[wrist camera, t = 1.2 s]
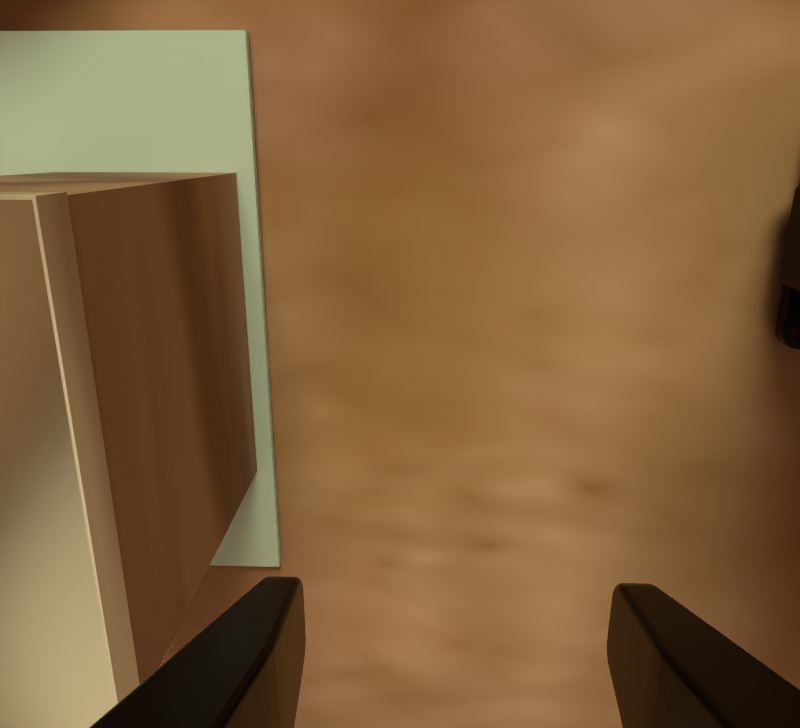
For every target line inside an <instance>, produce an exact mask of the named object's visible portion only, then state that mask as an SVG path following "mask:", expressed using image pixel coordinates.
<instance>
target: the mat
mask: <svg viewBox="0 0 800 728" xmlns="http://www.w3.org/2000/svg"><path fill="white" fill-rule="evenodd" d="M49 172H192V173H236V178H237V192H238V206H239V220H240V234H241V248H242V262H243V276H244V290H245V304H246V318H247V332H248V346H249V360H250V374H251V388H252V402H253V417H254V431H255V445H256V459H257V473H256V475H255V477H254V479H253V481H252V483H251V485H250V486H249V488H248V490H247V492H246V494H245V496H244V498H243V500H242V502H241V504H240V506H239V508H238V510H237V512H236V514H235V516H234V518H233V520H232V522H231V524H230V526H229V528H228V530H227V532H226V534H225V536H224V538H223V540H222V542H221V544H220V546H219V548H218V550H217V552H216V554H215V556H214V558H213V560H212V562H211V564H210V565H213V566H265V567H279V566H280V563H281V552H280V536H279V520H278V504H277V488H276V472H275V455H274V439H273V423H272V407H271V391H270V375H269V359H268V342H267V326H266V310H265V294H264V278H263V262H262V246H261V230H260V213H259V197H258V181H257V165H256V149H255V133H254V117H253V100H252V84H251V68H250V52H249V36H248V32H247V31H246V30H169V31H0V176H3V175H18V174H33V173H49Z"/></svg>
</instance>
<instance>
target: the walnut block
mask: <svg viewBox="0 0 800 728" xmlns="http://www.w3.org/2000/svg"><path fill="white" fill-rule="evenodd" d="M256 473H257V459H256V445H255V431H254V417H253V402H252V388H251V374H250V360H249V346H248V332H247V318H246V304H245V290H244V276H243V262H242V248H241V234H240V220H239V206H238V192H237V178H236V173H192V172H49V173H33V174H18V175H3V176H0V728H89V727H91V726H92V725H93V724H94V723H95V722H96V721H98V720H99V719H100V718H101V717H102V716H103V715H105V714H106V713H107V712H108V711H109V710H110V709H112V708H113V707H114V706H115V705H116V704H117V703H119V702H120V701H121V700H122V699H123V698H125V697H126V696H127V695H128V694H129V693H130V692H132V691H133V690H134V689H135V688H136V687H137V686H139V685H140V684H141V683H142V682H143V681H144V680H146V679H147V678H148V677H149V676H150V675H151V674H153V673H154V672H155V671H156V670H157V669H158V667H159V665H160V663H161V661H162V659H163V657H164V655H165V653H166V651H167V649H168V647H169V645H170V643H171V641H172V639H173V637H174V635H175V633H176V631H177V629H178V627H179V625H180V623H181V621H182V619H183V617H184V615H185V613H186V611H187V609H188V607H189V605H190V603H191V601H192V599H193V597H194V595H195V593H196V591H197V589H198V587H199V585H200V584H201V582H202V580H203V578H204V576H205V574H206V572H207V570H208V568H209V566H210V564H211V562H212V560H213V558H214V556H215V554H216V552H217V550H218V548H219V546H220V544H221V542H222V540H223V538H224V536H225V534H226V532H227V530H228V528H229V526H230V524H231V522H232V520H233V518H234V516H235V514H236V512H237V510H238V508H239V506H240V504H241V502H242V500H243V498H244V496H245V494H246V492H247V490H248V488H249V486H250V485H251V483H252V481H253V479H254V477H255V475H256Z"/></svg>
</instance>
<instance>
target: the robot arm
mask: <svg viewBox="0 0 800 728" xmlns="http://www.w3.org/2000/svg"><path fill="white" fill-rule="evenodd" d="M780 278H781V280H782V281H783V282H784V285H783V290H782V296H781V301H780V307H779V312H778V318H777V323H776V336H777V338H778V340H779V341H781V342H782V343H783V344H785V345H787V346H789V347H791V348H795V349H800V333H799V334H798V335H797V336H794V337H792V330H793V328H794V327H795V326H796V325H797V324H800V185H799V186H798V187H797V188H796V189H795V194H794V199H793V205H792V210H791V216H790V221H789V227H788V233H787V238H786V244H785V249H784V255H783V260H782V266H781V272H780ZM305 642H306V636H305V615H304V596H303V585H302V582H301V580H300V579H299V578H298V577H266V578H264V579H263V580H262V581H260V582H259V583H258V584H257V585H256V586H255V587H253V588H252V589H251V590H250V591H249V592H248V593H246V594H245V595H244V596H243V597H242V598H240V599H239V600H238V601H237V602H236V603H235V604H233V605H232V606H231V607H230V608H229V609H228V610H226V611H225V612H224V613H223V614H222V615H221V616H219V617H218V618H217V619H216V620H215V621H214V622H212V623H211V624H210V625H209V626H208V627H207V628H205V629H204V630H203V631H202V632H201V633H199V634H198V635H197V636H196V637H195V638H194V639H192V640H191V641H190V642H189V643H188V644H187V645H185V646H184V647H183V648H182V649H181V650H180V651H178V652H177V653H176V654H175V655H174V656H173V657H171V658H170V659H169V660H168V661H167V662H166V663H164V664H163V665H162V666H161V667H160V668H158V669H157V670H156V671H155V672H154V673H153V674H151V675H150V676H149V677H148V678H147V679H146V680H144V681H143V682H142V683H141V684H140V685H139V686H137V687H136V688H135V689H134V690H133V691H132V692H130V693H129V694H128V695H127V696H126V697H125V698H123V699H122V700H121V701H120V702H119V703H117V704H116V705H115V706H114V707H113V708H112V709H110V710H109V711H108V712H107V713H106V714H105V715H103V716H102V717H101V718H100V719H99V720H98V721H96V722H95V723H94V724H93V725H92V726H91V727H89V728H294V724H295V718H296V711H297V704H298V697H299V690H300V684H301V677H302V670H303V663H304V656H305ZM607 657H608V664H609V669H610V673H611V677H612V682H613V686H614V691H615V695H616V699H617V704H618V708H619V713H620V717H621V721H622V726H623V728H800V690H799V689H797V688H796V687H795V686H793V685H792V684H791V683H789V682H788V681H786V680H785V679H784V678H782V677H781V676H779V675H778V674H777V673H775V672H774V671H773V670H771V669H770V668H768V667H767V666H766V665H764V664H763V663H761V662H760V661H759V660H757V659H756V658H755V657H753V656H752V655H750V654H749V653H748V652H746V651H745V650H743V649H742V648H741V647H739V646H738V645H737V644H735V643H734V642H732V641H731V640H730V639H728V638H727V637H725V636H724V635H723V634H721V633H720V632H719V631H717V630H716V629H714V628H713V627H712V626H710V625H709V624H707V623H706V622H705V621H703V620H702V619H700V618H699V617H698V616H696V615H695V614H694V613H692V612H691V611H689V610H688V609H687V608H685V607H684V606H682V605H681V604H680V603H678V602H677V601H676V600H674V599H673V598H671V597H670V596H669V595H667V594H666V593H664V592H663V591H662V590H660V589H659V588H657V587H656V586H654V585H652V584H635V583H621V584H618V585H617V586H616V587H615V589H614V592H613V596H612V604H611V612H610V621H609V629H608V638H607Z"/></svg>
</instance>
